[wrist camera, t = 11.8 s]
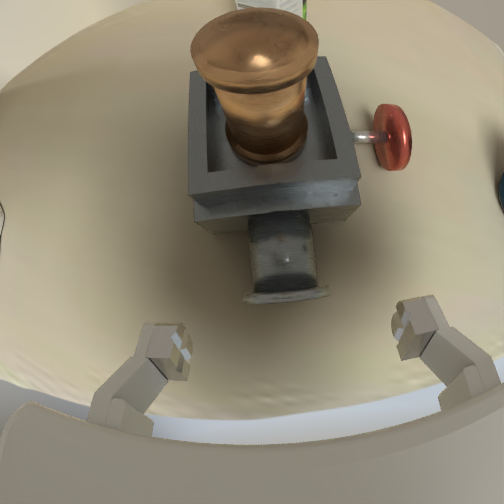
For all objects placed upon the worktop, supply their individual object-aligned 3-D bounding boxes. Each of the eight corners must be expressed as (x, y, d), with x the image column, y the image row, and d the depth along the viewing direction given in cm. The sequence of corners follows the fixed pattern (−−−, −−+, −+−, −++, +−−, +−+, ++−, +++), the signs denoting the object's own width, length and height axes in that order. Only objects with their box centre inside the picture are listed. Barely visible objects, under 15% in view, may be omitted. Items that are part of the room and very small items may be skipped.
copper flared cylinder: (212, 131, 18) (168, 45, 10) (270, 89, 18) (259, -3, 9) (262, 182, 18) (244, 102, 9) (323, 135, 18) (344, 42, 9)
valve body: (406, 281, 21) (454, 280, 13) (218, 301, 22) (187, 311, 15) (353, 64, 23) (365, 16, 16) (207, 75, 25) (188, 27, 17)
